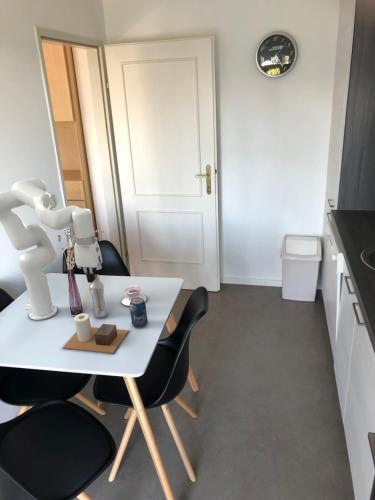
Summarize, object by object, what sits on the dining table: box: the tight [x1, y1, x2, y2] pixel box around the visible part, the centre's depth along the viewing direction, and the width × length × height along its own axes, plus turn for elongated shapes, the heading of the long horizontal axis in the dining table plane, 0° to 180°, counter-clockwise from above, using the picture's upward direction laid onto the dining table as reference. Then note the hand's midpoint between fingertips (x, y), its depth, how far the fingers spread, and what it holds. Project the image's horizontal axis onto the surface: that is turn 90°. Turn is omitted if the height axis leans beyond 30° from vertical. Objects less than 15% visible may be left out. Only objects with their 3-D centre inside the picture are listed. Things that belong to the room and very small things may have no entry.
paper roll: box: [73, 312, 93, 342], centre depth 173 cm, size 11×6×12 cm
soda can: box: [129, 297, 149, 329], centre depth 181 cm, size 7×7×12 cm
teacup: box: [121, 285, 147, 307], centre depth 204 cm, size 12×12×6 cm
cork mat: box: [62, 327, 129, 354], centre depth 174 cm, size 22×16×1 cm
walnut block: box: [94, 323, 118, 346], centre depth 172 cm, size 6×8×5 cm
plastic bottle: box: [88, 274, 109, 319], centre depth 190 cm, size 6×7×20 cm
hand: (91, 281), depth 173 cm, fingers closed
